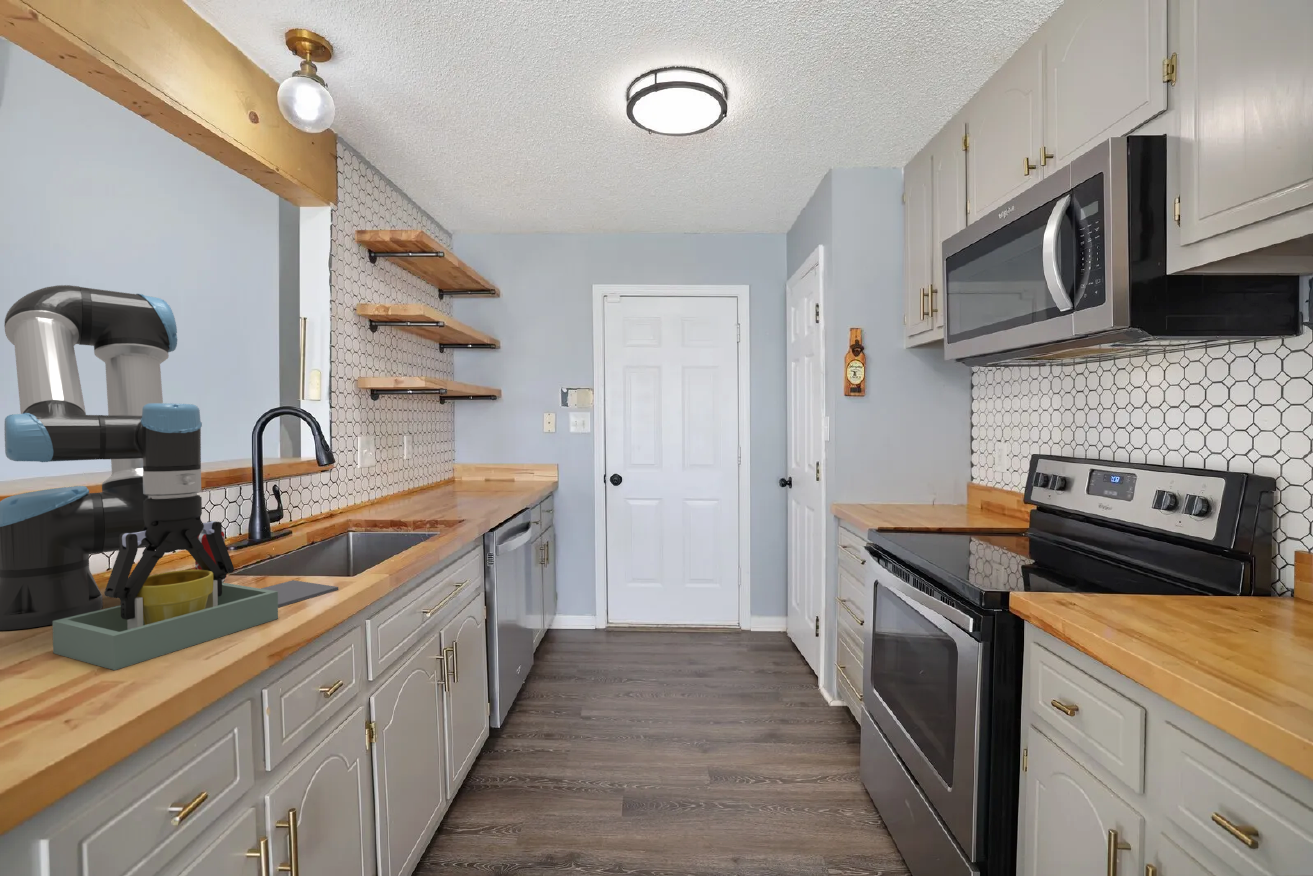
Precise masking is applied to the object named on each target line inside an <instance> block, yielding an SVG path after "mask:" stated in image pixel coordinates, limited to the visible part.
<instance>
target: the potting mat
mask: <svg viewBox="0 0 1313 876" xmlns="http://www.w3.org/2000/svg"><path fill="white" fill-rule="evenodd" d="M260 589H266V590H272V591H278V608H281V607H285V606H289V605H292V604H295V603H298V602H302V601H305V600H309V599H312V598H315V597H318V596H321V595H325V594H328V593H332V592H335V591H338V590H339V586H334V585H328V584H327V585H326V584H322V583H321V584H320V583H313V582H308V581H302V580H301V581H300V580H295V579H292V580H288V581H285V582H281V583H277V584H273V585H269V586H266V587H262V588H260Z"/></svg>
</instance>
